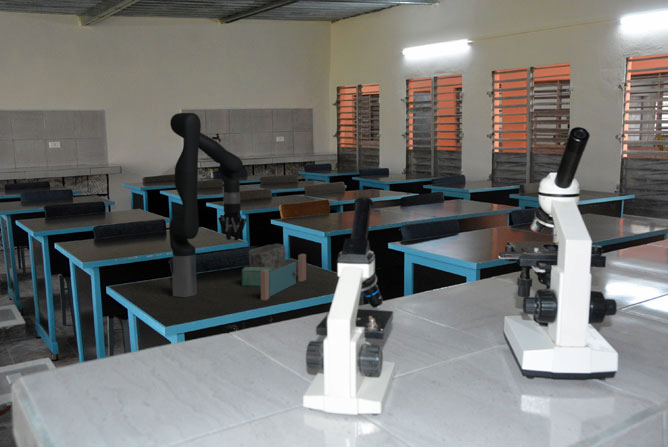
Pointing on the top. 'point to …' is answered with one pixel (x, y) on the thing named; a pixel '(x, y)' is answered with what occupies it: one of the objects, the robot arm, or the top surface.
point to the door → (282, 278)
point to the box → (253, 275)
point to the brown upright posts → (266, 276)
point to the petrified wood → (268, 256)
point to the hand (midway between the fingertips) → (232, 239)
